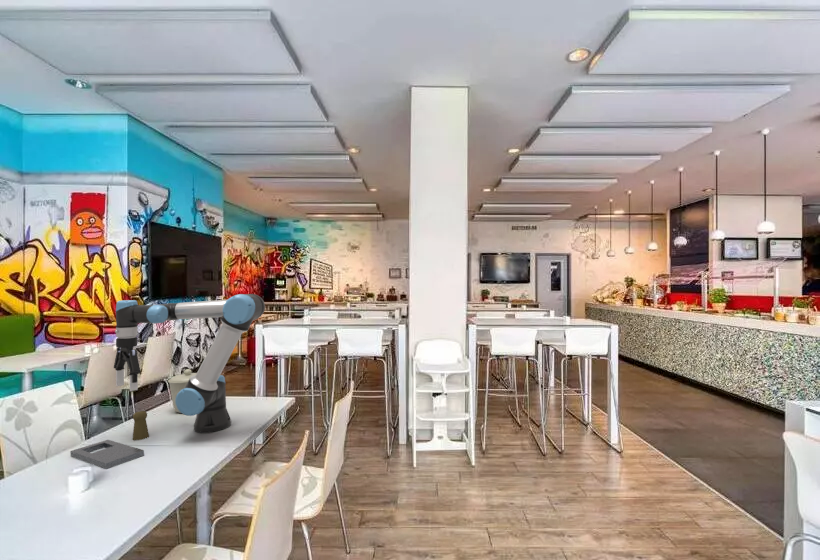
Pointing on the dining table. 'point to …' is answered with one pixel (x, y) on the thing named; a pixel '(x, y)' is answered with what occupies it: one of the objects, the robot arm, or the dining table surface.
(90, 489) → the dining table surface
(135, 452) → the jig
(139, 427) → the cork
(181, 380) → the canister
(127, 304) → the robot arm
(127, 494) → the dining table surface
